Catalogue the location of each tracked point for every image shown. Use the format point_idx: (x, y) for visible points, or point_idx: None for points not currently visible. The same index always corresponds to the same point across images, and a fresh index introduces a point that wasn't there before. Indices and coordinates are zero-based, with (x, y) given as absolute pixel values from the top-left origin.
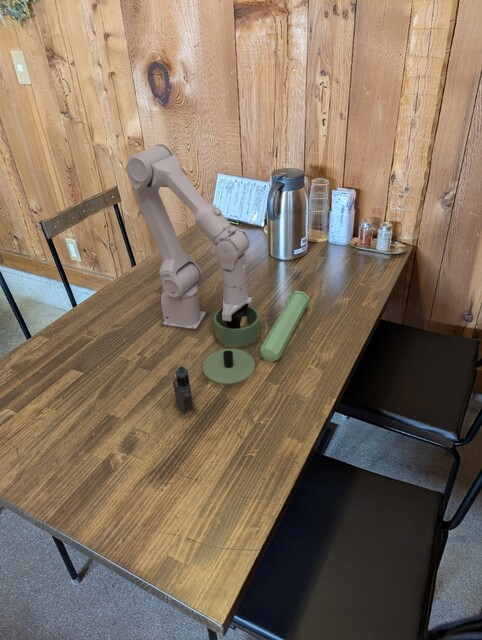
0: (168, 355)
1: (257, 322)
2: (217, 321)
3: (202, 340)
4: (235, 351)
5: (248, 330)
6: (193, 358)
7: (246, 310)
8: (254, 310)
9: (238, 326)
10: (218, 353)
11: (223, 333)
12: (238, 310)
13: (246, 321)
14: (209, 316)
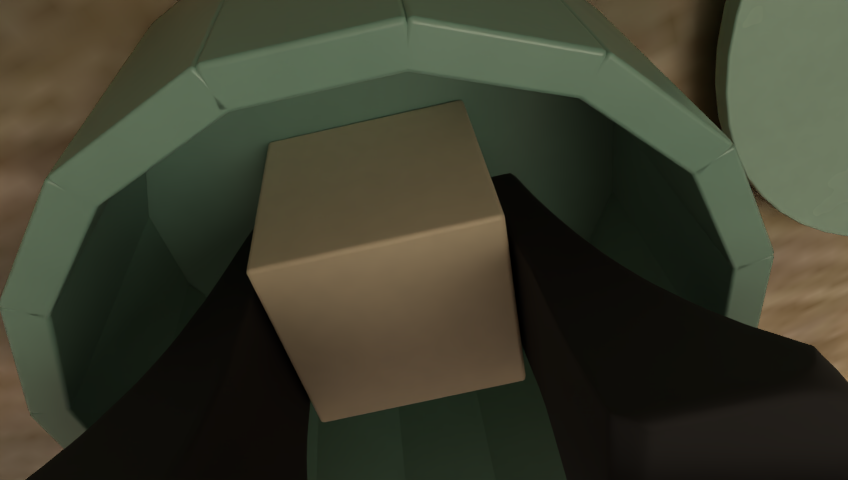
0: None
1: (382, 13)
2: (463, 442)
3: None
4: (780, 44)
5: (632, 62)
6: (821, 307)
7: (190, 362)
8: (61, 264)
9: (594, 249)
10: (823, 185)
11: None
12: (277, 437)
13: (291, 220)
14: None
